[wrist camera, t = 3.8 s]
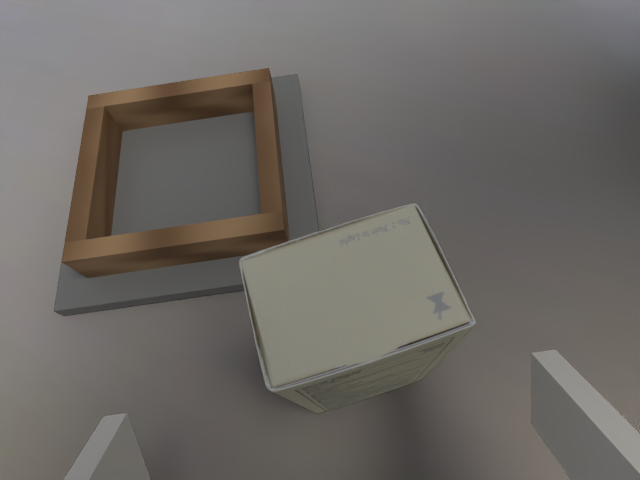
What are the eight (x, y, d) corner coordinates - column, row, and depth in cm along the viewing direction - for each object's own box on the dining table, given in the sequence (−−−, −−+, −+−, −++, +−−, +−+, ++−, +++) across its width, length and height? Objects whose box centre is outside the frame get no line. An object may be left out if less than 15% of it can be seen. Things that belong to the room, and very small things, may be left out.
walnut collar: (275, 95, 31) (268, 68, 29) (290, 248, 26) (284, 229, 23) (107, 120, 31) (88, 95, 29) (87, 278, 26) (61, 262, 24)
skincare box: (394, 306, 25) (423, 193, 14) (425, 383, 23) (487, 324, 12) (289, 339, 24) (233, 251, 13) (311, 421, 22) (266, 396, 11)
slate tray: (299, 84, 33) (297, 74, 32) (325, 278, 26) (324, 272, 25) (94, 115, 33) (86, 106, 32) (64, 315, 26) (53, 311, 25)
